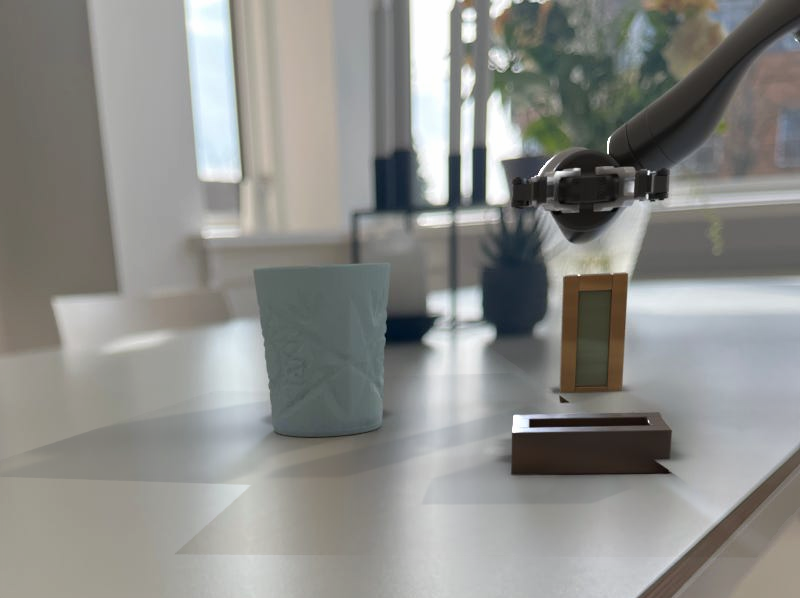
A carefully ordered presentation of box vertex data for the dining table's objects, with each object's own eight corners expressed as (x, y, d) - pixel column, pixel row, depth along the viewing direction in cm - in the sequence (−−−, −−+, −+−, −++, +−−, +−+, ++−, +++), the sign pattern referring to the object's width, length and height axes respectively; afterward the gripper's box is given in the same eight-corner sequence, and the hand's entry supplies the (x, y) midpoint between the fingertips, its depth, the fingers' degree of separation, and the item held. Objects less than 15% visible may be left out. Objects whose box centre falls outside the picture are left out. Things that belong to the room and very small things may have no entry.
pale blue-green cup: (243, 437, 78) (230, 269, 74) (293, 415, 87) (284, 264, 83) (371, 439, 75) (365, 263, 70) (409, 416, 83) (406, 258, 79)
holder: (513, 453, 67) (513, 414, 66) (656, 451, 66) (659, 412, 65) (511, 474, 61) (511, 432, 61) (669, 473, 60) (672, 429, 59)
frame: (559, 398, 89) (563, 275, 85) (619, 396, 88) (625, 272, 84) (559, 402, 86) (563, 276, 83) (621, 400, 85) (628, 273, 82)
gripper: (653, 227, 106) (672, 228, 91) (512, 234, 109) (509, 236, 94) (658, 147, 103) (679, 134, 88) (514, 156, 106) (511, 145, 91)
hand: (591, 186), depth 91 cm, fingers open, 8 cm apart
